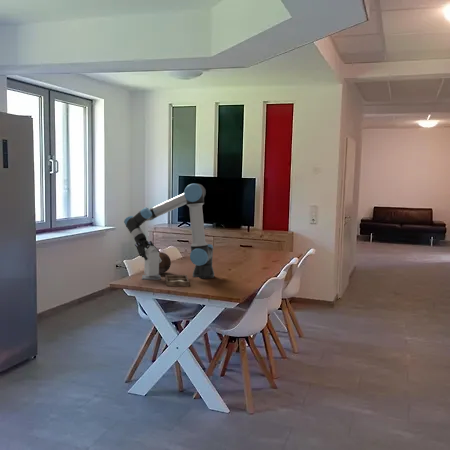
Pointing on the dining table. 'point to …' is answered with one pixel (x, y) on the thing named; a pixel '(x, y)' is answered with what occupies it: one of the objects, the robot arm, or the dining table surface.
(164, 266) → the wooden sphere
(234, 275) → the dining table surface
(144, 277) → the slate tile
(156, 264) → the milk carton
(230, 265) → the dining table surface
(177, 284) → the walnut rack
